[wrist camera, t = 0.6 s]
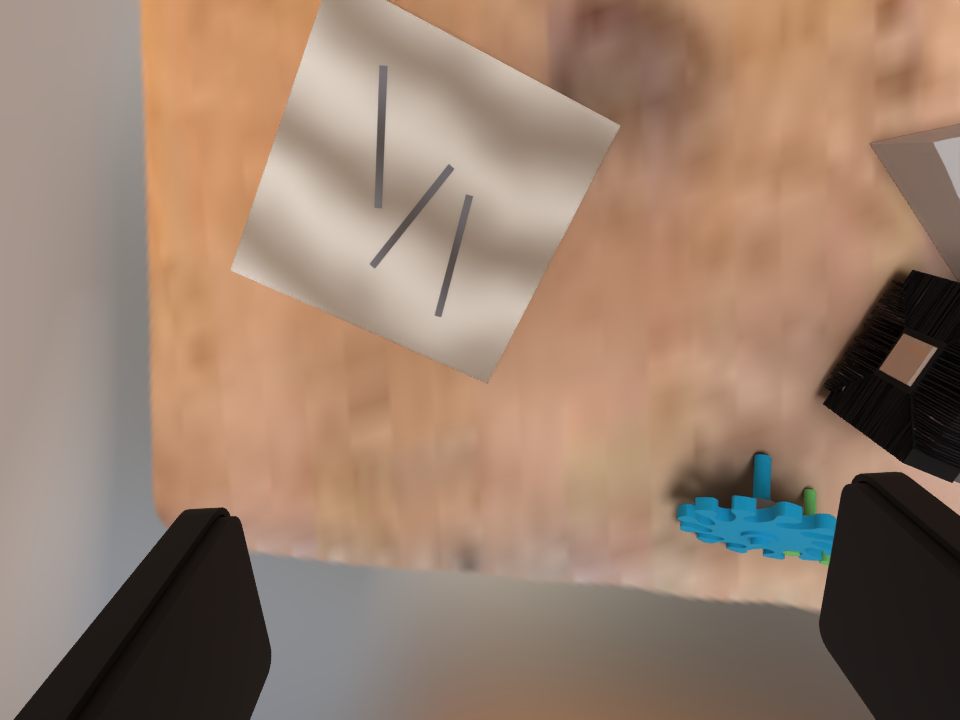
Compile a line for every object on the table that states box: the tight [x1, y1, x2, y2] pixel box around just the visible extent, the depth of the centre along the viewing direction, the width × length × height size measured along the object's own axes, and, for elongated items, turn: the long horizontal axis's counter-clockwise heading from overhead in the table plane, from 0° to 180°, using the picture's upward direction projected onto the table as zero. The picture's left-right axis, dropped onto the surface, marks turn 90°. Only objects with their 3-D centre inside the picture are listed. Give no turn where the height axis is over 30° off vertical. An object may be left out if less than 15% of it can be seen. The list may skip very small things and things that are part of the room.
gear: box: [677, 454, 837, 565], centre depth 38 cm, size 11×6×10 cm
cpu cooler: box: [823, 270, 960, 483], centre depth 32 cm, size 10×6×10 cm, turn 157°
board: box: [231, 0, 620, 383], centre depth 33 cm, size 16×16×2 cm
